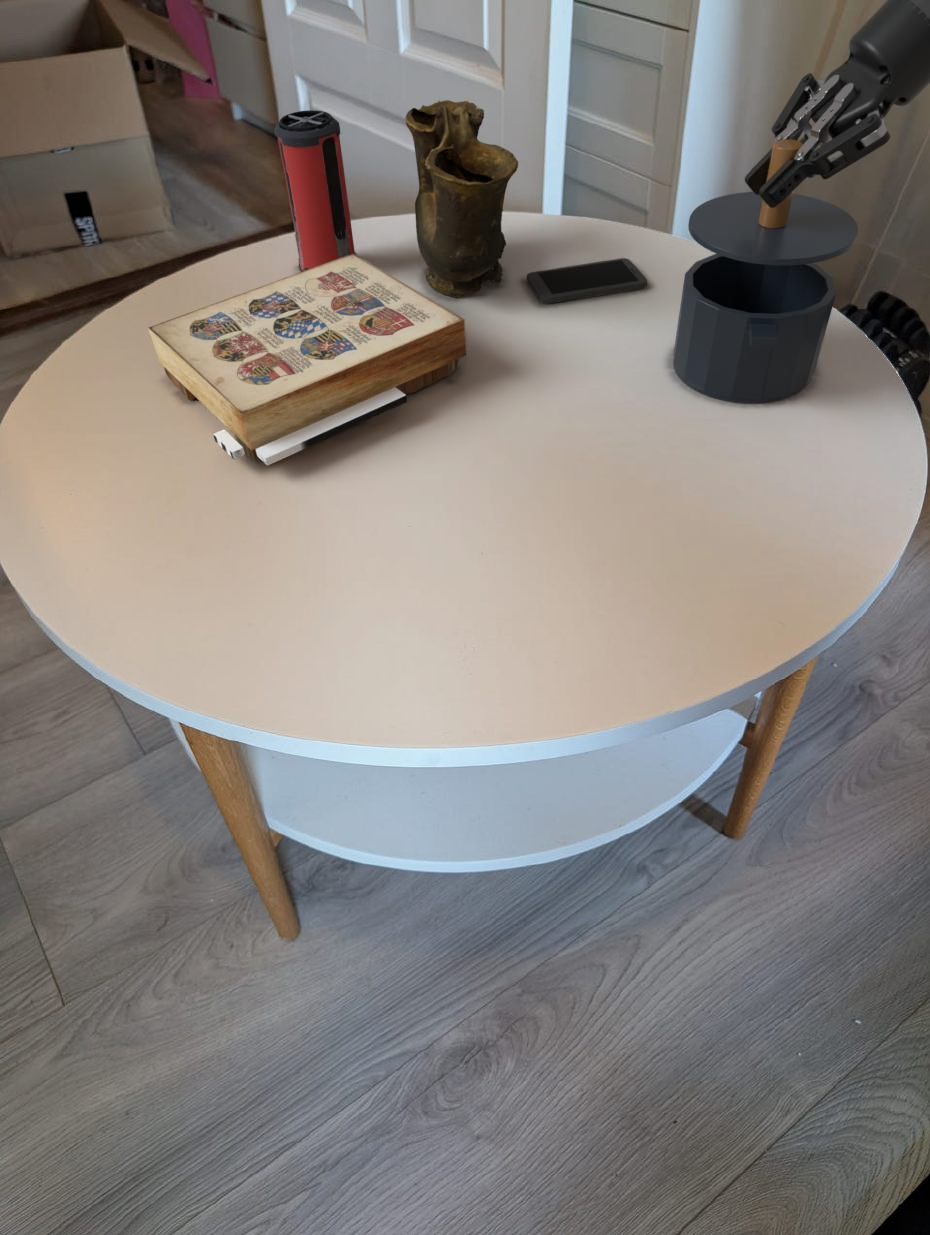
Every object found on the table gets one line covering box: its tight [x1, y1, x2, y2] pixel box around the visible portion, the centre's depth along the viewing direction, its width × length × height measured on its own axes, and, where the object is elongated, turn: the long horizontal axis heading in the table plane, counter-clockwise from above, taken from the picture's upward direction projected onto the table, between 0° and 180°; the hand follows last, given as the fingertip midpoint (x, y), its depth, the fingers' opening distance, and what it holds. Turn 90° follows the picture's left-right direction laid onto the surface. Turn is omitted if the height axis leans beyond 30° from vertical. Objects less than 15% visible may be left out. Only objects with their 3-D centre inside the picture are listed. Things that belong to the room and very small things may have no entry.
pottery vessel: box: [404, 100, 519, 298], centre depth 105 cm, size 25×11×20 cm, turn 12°
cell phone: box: [525, 257, 648, 304], centre depth 109 cm, size 7×14×1 cm, turn 104°
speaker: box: [273, 110, 357, 272], centre depth 109 cm, size 8×8×18 cm
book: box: [147, 253, 467, 466], centre depth 94 cm, size 25×6×28 cm
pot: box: [672, 253, 838, 405], centre depth 91 cm, size 15×20×10 cm
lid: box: [687, 139, 859, 265], centre depth 82 cm, size 16×16×8 cm
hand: (758, 193), depth 81 cm, fingers closed on lid, 2 cm apart
